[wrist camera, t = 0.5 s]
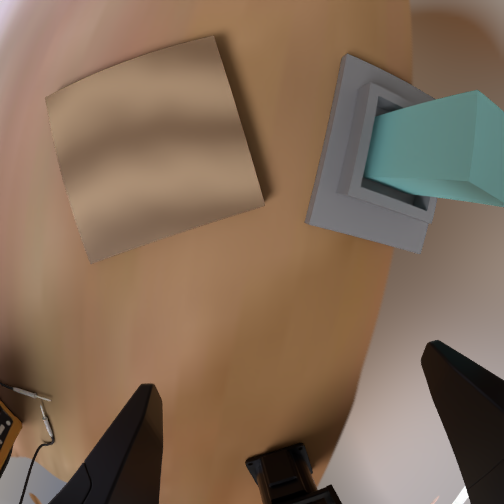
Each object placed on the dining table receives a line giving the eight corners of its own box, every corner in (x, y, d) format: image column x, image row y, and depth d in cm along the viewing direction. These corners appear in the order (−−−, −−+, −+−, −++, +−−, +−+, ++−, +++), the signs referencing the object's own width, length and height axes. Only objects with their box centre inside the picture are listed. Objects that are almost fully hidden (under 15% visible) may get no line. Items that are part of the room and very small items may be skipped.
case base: (413, 251, 26) (434, 259, 23) (304, 222, 24) (318, 228, 21) (441, 108, 23) (462, 104, 20) (341, 57, 21) (358, 44, 18)
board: (261, 204, 23) (265, 205, 22) (95, 260, 22) (90, 264, 20) (212, 42, 19) (213, 35, 18) (51, 100, 18) (45, 97, 17)
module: (406, 193, 23) (512, 208, 13) (361, 177, 22) (468, 181, 12) (417, 137, 22) (520, 127, 12) (374, 117, 22) (477, 89, 11)
